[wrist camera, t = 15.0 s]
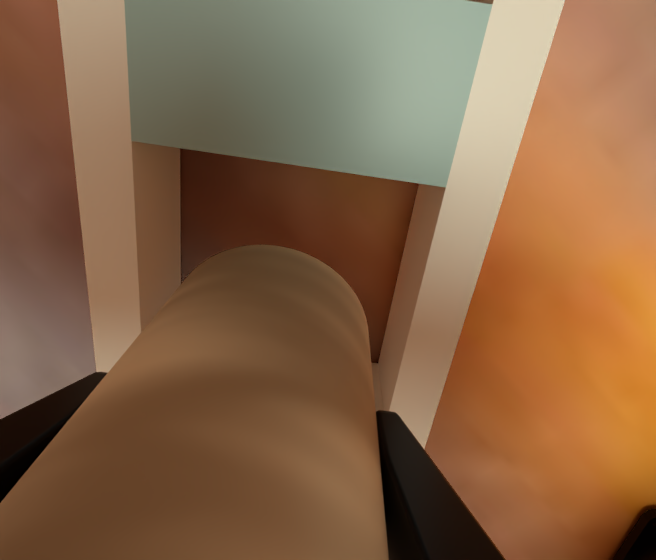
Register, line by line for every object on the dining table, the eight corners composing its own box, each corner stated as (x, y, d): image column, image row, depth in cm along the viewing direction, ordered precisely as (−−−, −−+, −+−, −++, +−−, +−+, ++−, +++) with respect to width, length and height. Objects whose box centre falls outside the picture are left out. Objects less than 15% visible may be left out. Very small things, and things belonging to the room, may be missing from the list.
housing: (406, 397, 18) (419, 464, 15) (145, 361, 18) (101, 422, 15) (653, -511, 9) (834, -860, 5) (99, -616, 8) (-55, -1050, 5)
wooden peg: (386, 262, 10) (583, 1134, 2) (351, 427, 12) (361, 1176, 4) (168, 229, 10) (-771, 1000, 2) (170, 402, 12) (-226, 1120, 4)
